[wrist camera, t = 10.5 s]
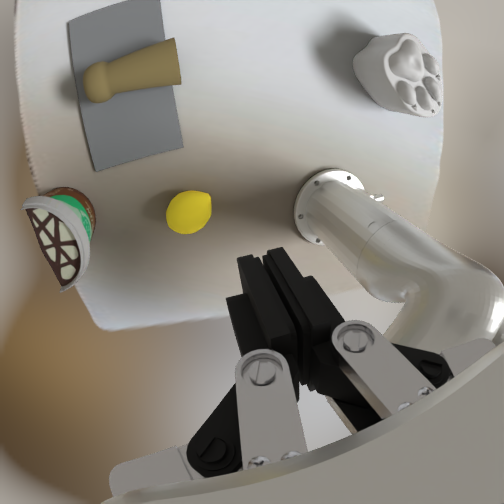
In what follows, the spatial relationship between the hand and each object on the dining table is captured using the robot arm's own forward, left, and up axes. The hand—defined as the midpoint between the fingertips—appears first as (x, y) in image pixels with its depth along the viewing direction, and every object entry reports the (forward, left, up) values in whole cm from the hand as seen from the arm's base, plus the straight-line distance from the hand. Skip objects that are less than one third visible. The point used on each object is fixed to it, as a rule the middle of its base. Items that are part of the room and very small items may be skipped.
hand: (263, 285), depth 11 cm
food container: (+18, +4, -29) cm, 35 cm away
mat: (+8, -12, -29) cm, 32 cm away
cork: (+1, -12, -26) cm, 29 cm away
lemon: (+3, +7, -29) cm, 30 cm away
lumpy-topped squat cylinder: (-30, -8, -29) cm, 43 cm away
